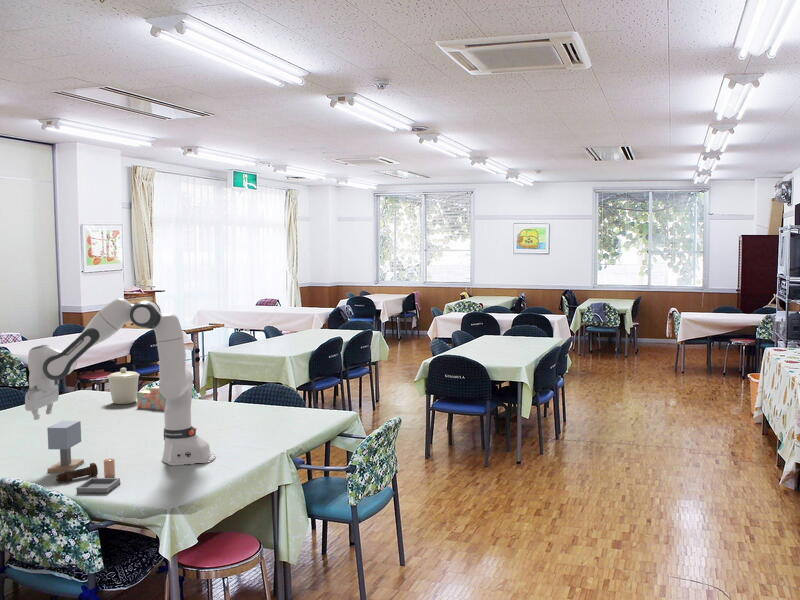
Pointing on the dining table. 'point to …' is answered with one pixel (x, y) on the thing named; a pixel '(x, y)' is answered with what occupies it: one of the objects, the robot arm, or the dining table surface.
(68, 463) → the mounted unit
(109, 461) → the peach rounded cylinder
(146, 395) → the stack of blocks
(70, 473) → the bolt
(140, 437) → the dining table surface
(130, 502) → the dining table surface
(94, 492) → the parts tray
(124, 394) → the canister
